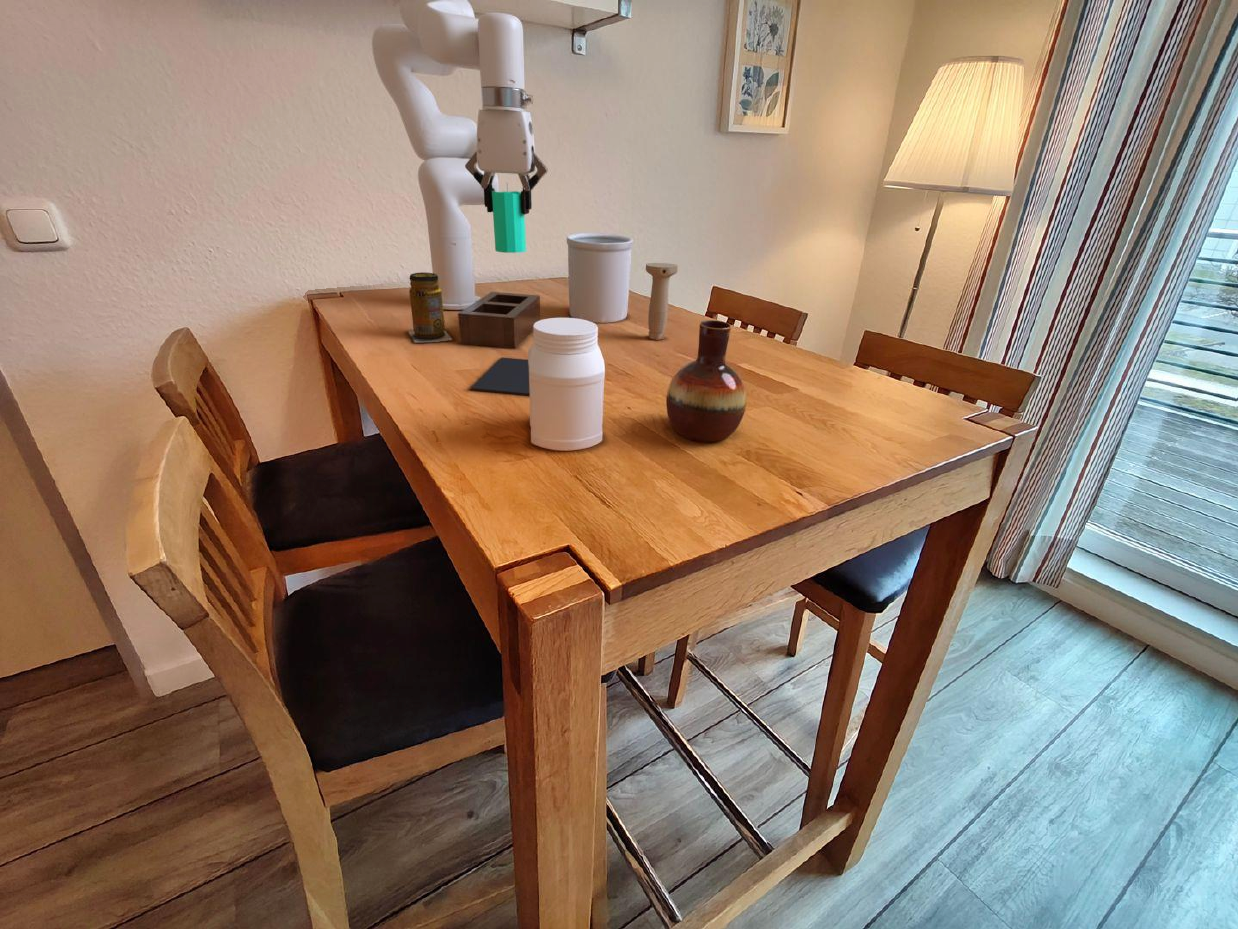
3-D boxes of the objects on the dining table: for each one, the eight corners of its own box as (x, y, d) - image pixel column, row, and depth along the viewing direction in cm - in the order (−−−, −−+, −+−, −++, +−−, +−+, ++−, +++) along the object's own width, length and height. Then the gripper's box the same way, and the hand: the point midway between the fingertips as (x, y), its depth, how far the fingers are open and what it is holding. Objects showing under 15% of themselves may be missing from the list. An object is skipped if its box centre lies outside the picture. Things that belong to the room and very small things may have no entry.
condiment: (444, 329, 123) (438, 270, 117) (452, 340, 116) (447, 278, 111) (408, 332, 120) (400, 271, 114) (414, 344, 113) (406, 280, 108)
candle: (500, 253, 111) (496, 183, 105) (491, 248, 116) (486, 181, 110) (530, 252, 114) (527, 183, 108) (520, 247, 118) (517, 182, 113)
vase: (651, 419, 87) (659, 315, 79) (716, 411, 90) (730, 311, 83) (684, 452, 78) (697, 338, 70) (756, 442, 81) (775, 333, 74)
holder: (460, 343, 115) (457, 313, 112) (492, 318, 132) (491, 291, 129) (514, 348, 114) (513, 317, 111) (540, 322, 131) (539, 295, 128)
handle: (673, 341, 123) (680, 267, 116) (643, 341, 122) (648, 266, 115) (668, 335, 127) (674, 263, 120) (639, 335, 126) (643, 262, 119)
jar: (605, 450, 77) (609, 338, 70) (531, 452, 76) (528, 338, 69) (594, 415, 87) (597, 314, 80) (529, 416, 86) (526, 314, 79)
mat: (470, 390, 94) (470, 387, 93) (501, 359, 108) (501, 357, 107) (581, 400, 92) (581, 398, 92) (597, 367, 106) (597, 365, 106)
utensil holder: (617, 327, 131) (621, 244, 122) (556, 318, 135) (556, 238, 126) (637, 312, 143) (641, 236, 135) (580, 305, 147) (581, 231, 139)
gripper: (556, 105, 106) (557, 213, 114) (463, 101, 107) (471, 208, 116) (546, 101, 99) (548, 216, 107) (448, 98, 100) (457, 211, 109)
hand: (508, 211), depth 111 cm, fingers closed on candle, 6 cm apart
